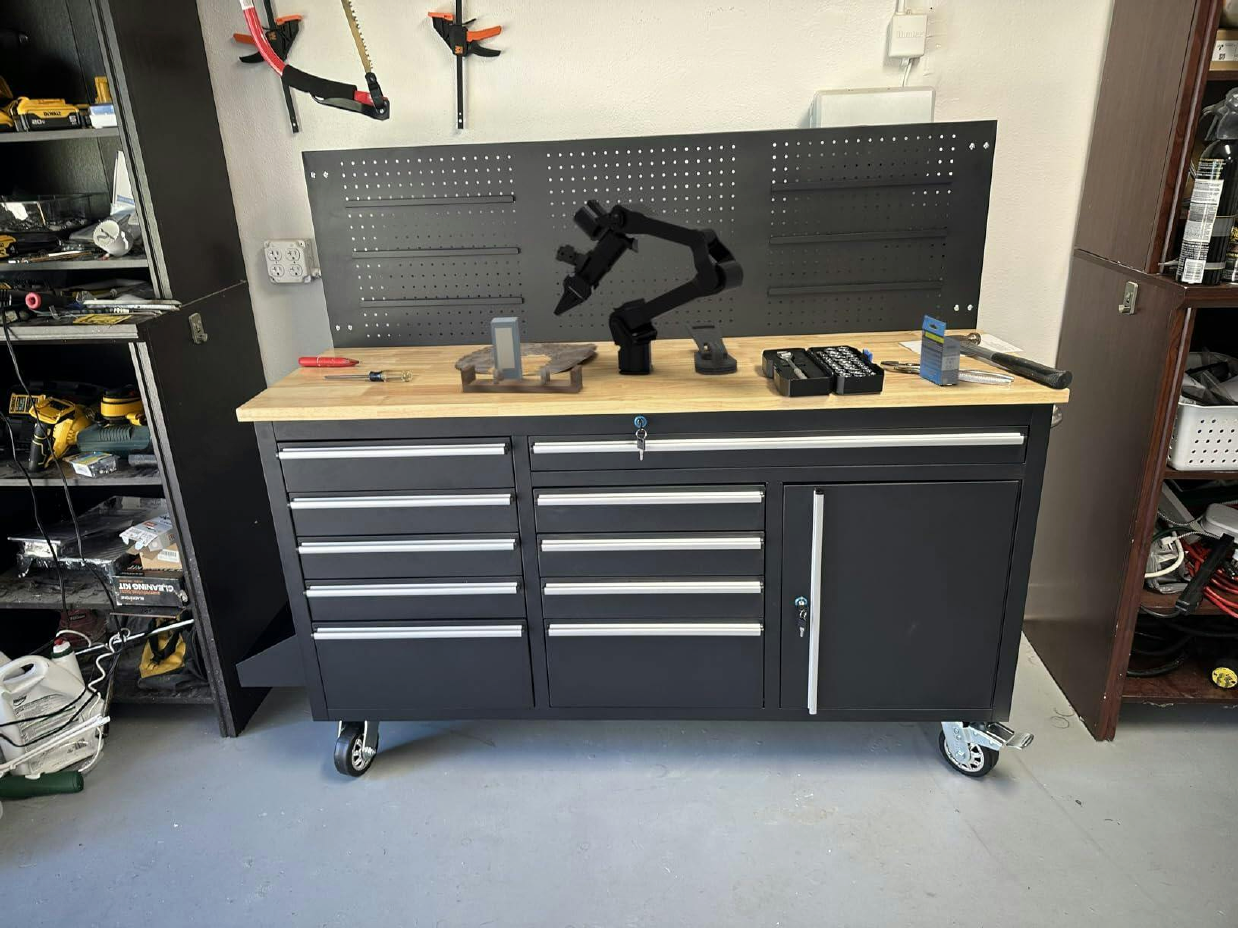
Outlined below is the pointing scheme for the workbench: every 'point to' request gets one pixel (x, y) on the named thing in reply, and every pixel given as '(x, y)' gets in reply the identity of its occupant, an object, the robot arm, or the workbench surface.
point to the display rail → (521, 382)
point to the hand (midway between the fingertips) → (558, 310)
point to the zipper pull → (710, 350)
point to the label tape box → (939, 354)
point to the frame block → (507, 346)
